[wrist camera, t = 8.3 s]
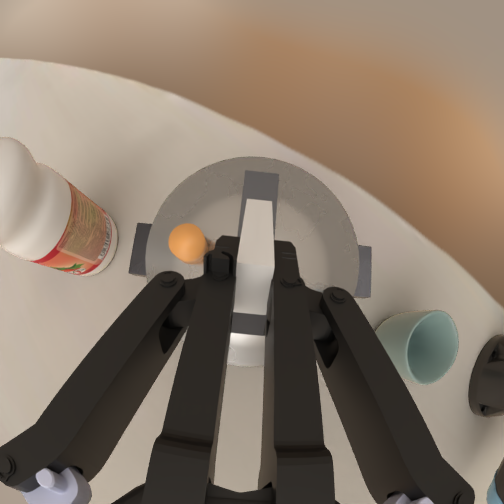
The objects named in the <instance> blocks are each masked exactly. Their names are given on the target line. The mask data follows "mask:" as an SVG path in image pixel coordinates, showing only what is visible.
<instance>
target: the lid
mask: <svg viewBox="0 0 504 504" xmlns="http://www.w3.org/2000/svg"><path fill="white" fill-rule="evenodd" d="M247 199H255V200H265V201H272V212H273V235H274V240H280V241H290V242H291V243H292V244H293V245H294V246H295V247H296V255H297V260H298V267H299V273H300V277H301V278H302V279H303V280H304V282H305V285H306V286H307V287H309V288H310V289H313V290H315V291H318V292H322V293H323V291H324V290H325V289H326V288H328V287H340V288H343V289H345V290H346V291H348V292H349V293H350V294H351V295H352V297H353V296H354V294H355V290H356V286H357V281H358V275H359V250H358V244H357V238H356V235H355V232H354V229H353V225H352V223H351V221H350V219H349V217H348V214H347V213H346V211H345V209H344V208H343V206H342V204H341V203H340V201H339V200H338V199H337V198H336V196H335V195H334V194H333V193H332V192H331V191H330V190H329V189H328V188H327V187H326V186H325V185H324V184H323V183H322V182H321V181H319V180H318V179H317V178H315V177H314V176H313V175H311V174H310V173H308V172H306V171H305V170H303V169H301V168H299V167H297V166H294V165H292V164H290V163H287V162H283V161H280V160H276V159H271V158H265V157H239V158H233V159H228V160H223V161H220V162H217V163H214V164H211V165H209V166H207V167H205V168H203V169H201V170H199V171H197V172H196V173H194V174H193V175H191V176H189V177H188V178H187V179H186V180H184V181H183V182H182V183H181V184H179V185H178V186H177V187H176V188H175V190H174V191H173V192H172V193H171V194H170V195H169V196H168V198H167V199H166V200H165V202H164V203H163V204H162V206H161V208H160V209H159V211H158V213H157V215H156V217H155V219H154V222H153V224H152V227H151V229H150V233H149V237H148V241H147V247H146V256H145V260H146V275H147V282H148V283H149V282H150V281H151V280H152V279H153V277H154V276H156V275H157V274H158V273H161V272H163V271H176V272H178V273H180V274H181V275H182V276H183V277H184V279H193V278H197V277H200V276H202V275H203V274H204V271H203V257H204V255H205V254H206V253H207V252H209V251H211V250H214V247H215V244H216V240H217V239H218V238H219V237H221V236H222V235H226V236H236V237H241V232H242V226H243V220H244V214H245V208H246V202H247ZM266 317H267V312H266V315H258V314H248V313H238V312H233V321H232V329H231V337H230V345H229V352H228V360H227V364H229V365H235V366H241V367H263V366H264V356H265V335H263V333H264V328H265V323H266ZM187 329H188V328H187ZM186 333H187V330H186V332H185V333H184V335H183V337H182V338H181V340H182V341H183V342H184V340H185V337H186Z"/></svg>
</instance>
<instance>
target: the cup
mask: <svg viewBox="0 0 504 504" xmlns="http://www.w3.org/2000/svg"><path fill="white" fill-rule="evenodd" d="M375 334H376V335H377V337H378V339H379V340H380V342H381V344H382V345H383V347H384V349H385V350H386V352H387V354H388V355H389V357H390V359H391V361H392V362H393V364H394V366H395V368H396V369H397V371H398V373H399V375H400V376H401V378H402V379H404V380H407V381H410V382H412V383H415V384H419V385H428V384H432V383H434V382H436V381H438V380H439V379H440V378H442V377H443V376H444V375H445V374H446V373H447V372H448V370H449V369H450V368H451V366H452V365H453V363H454V361H455V358H456V356H457V352H458V343H459V341H458V332H457V328H456V326H455V323H454V321H453V320H452V318H451V317H450V316H449V315H448V314H447V313H446V312H444V311H440V310H421V311H409V312H403V313H400V314H396V315H394V316H391V317H390V318H388V319H386V320H385V321H384V322H382V323H381V324H380V325H379V326H378V328H377V329H376V331H375Z"/></svg>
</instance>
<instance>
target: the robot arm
mask: <svg viewBox="0 0 504 504" xmlns="http://www.w3.org/2000/svg"><path fill="white" fill-rule="evenodd" d="M203 271H204V274H203V275H202V276H200V277H197V278H193V279H184V277H183V276H182V275H181V274H180V273H178V272H176V271H163V272H161V273H158V274H157V275H156V276H154V277H153V279H152V280H151V281H150V282H149V283H148V284H147V285H146V286H145V287H144V289H143V290H142V291H141V292H140V293H139V294H138V295H137V296H136V298H135V299H134V300H133V301H132V302H131V303H130V304H129V305H128V307H127V308H126V309H125V310H124V311H123V312H122V314H121V315H120V316H119V317H118V318H117V319H116V321H115V322H114V323H113V324H112V325H111V326H110V328H109V329H108V330H107V331H106V332H105V334H104V335H103V336H102V337H101V338H100V340H99V341H98V342H97V343H96V344H95V346H94V347H93V348H92V349H91V351H90V352H89V353H88V354H87V356H86V357H85V358H84V359H83V361H82V362H81V363H80V364H79V366H78V367H77V368H76V369H75V371H74V372H73V373H72V375H71V376H70V377H69V378H68V380H67V381H66V382H65V384H64V385H63V386H62V388H61V389H60V390H59V392H58V393H57V394H56V396H55V397H54V398H53V400H52V401H51V402H50V404H49V405H48V407H47V408H46V409H45V411H44V412H43V414H42V415H41V416H40V418H39V419H38V421H37V422H36V424H34V425H33V426H31V427H30V428H29V429H27V430H26V431H24V432H23V433H21V434H20V435H18V436H17V437H15V438H14V439H12V440H11V441H9V442H8V443H6V444H4V445H3V446H1V447H0V481H1V482H3V483H4V484H5V485H7V486H9V487H12V488H14V489H16V490H19V491H20V492H21V493H22V494H23V496H24V497H25V499H26V501H27V502H28V504H88V503H89V501H90V500H91V497H92V493H91V488H90V485H89V484H88V482H89V481H91V480H92V479H93V478H94V477H95V476H96V475H97V473H98V472H99V471H100V470H101V469H102V467H103V466H104V464H105V463H106V461H107V460H108V458H109V457H110V455H111V453H112V451H113V450H114V448H115V446H116V445H117V443H118V441H119V440H120V438H121V436H122V435H123V433H124V431H125V430H126V428H127V426H128V425H129V423H130V421H131V420H132V418H133V416H134V415H135V413H136V411H137V410H138V408H139V406H140V405H141V403H142V402H143V400H144V398H145V397H146V395H147V393H148V392H149V390H150V388H151V387H152V385H153V384H154V382H155V380H156V379H157V377H158V375H159V374H160V372H161V371H162V369H163V367H164V366H165V364H166V362H167V361H168V359H169V358H170V356H171V354H172V353H173V351H174V350H175V348H176V346H177V345H178V343H179V341H180V340H181V338H182V337H183V335H184V333H185V332H186V330H187V333H186V337H185V340H184V344H183V348H182V352H181V355H180V359H179V363H178V367H177V371H176V375H175V379H174V383H173V387H172V391H171V395H170V399H169V403H168V408H167V412H166V416H165V421H164V425H163V429H162V432H161V434H160V435H159V436H158V437H157V438H156V440H155V442H154V445H153V449H152V453H151V458H150V462H149V467H148V472H147V477H146V482H145V483H144V484H142V485H140V486H138V487H136V488H134V489H133V490H131V491H130V492H128V493H127V494H125V495H124V496H122V497H121V498H119V499H118V500H116V501H115V502H113V503H111V504H340V503H339V502H337V501H336V500H335V489H334V472H333V460H332V455H331V453H330V451H329V450H328V449H327V448H326V447H325V445H324V438H323V425H322V414H321V403H320V393H319V384H318V375H317V366H316V360H317V363H318V365H319V368H320V370H321V372H322V375H323V377H324V380H325V382H326V385H327V387H328V390H329V392H330V394H331V397H332V399H333V402H334V404H335V407H336V409H337V412H338V414H339V417H340V419H341V422H342V424H343V427H344V429H345V432H346V435H347V437H348V440H349V442H350V445H351V447H352V450H353V452H354V455H355V458H356V460H357V463H358V465H359V468H360V471H361V473H362V476H363V478H364V481H365V483H366V486H367V488H368V490H369V492H370V494H371V495H372V497H373V498H374V500H375V501H376V503H377V504H474V500H475V494H474V490H473V488H472V487H471V486H470V485H469V484H468V483H467V482H466V481H465V480H464V479H463V478H462V477H461V476H460V475H459V474H458V473H457V472H456V471H455V470H454V469H453V468H452V467H451V466H450V465H449V464H448V463H447V462H446V461H445V460H444V459H443V458H442V456H441V454H440V452H439V450H438V448H437V446H436V444H435V442H434V440H433V437H432V435H431V433H430V431H429V429H428V427H427V425H426V423H425V421H424V419H423V417H422V415H421V414H420V412H419V410H418V408H417V406H416V404H415V402H414V400H413V398H412V396H411V395H410V393H409V391H408V389H407V387H406V385H405V384H404V382H403V380H402V378H401V376H400V375H399V373H398V371H397V369H396V368H395V366H394V364H393V362H392V361H391V359H390V357H389V355H388V354H387V352H386V350H385V349H384V347H383V345H382V344H381V342H380V340H379V339H378V337H377V335H376V334H375V332H374V330H373V329H372V327H371V325H370V324H369V322H368V320H367V319H366V317H365V316H364V314H363V312H362V311H361V309H360V308H359V306H358V305H357V303H356V301H355V300H354V298H353V297H352V295H351V294H350V293H349V292H348V291H346V290H345V289H343V288H340V287H328V288H326V289H325V290H324V291H323V293H322V292H318V291H315V290H313V289H310V288H309V287H307V286H306V285H305V282H304V280H303V279H302V278H301V277H300V273H299V267H298V260H297V255H296V247H295V246H294V245H293V244H292V243H291V242H290V241H280V240H274V235H273V212H272V201H265V200H255V199H247V202H246V208H245V214H244V220H243V226H242V232H241V237H236V236H226V235H222V236H221V237H219V238H218V239H217V240H216V244H215V247H214V250H211V251H209V252H207V253H206V254H205V255H204V257H203ZM233 312H238V313H248V314H258V315H266V312H267V317H266V323H265V328H264V333H263V335H265V356H264V392H263V422H262V448H261V466H260V472H259V479H258V490H255V491H249V492H243V493H239V492H235V491H231V490H228V489H225V488H222V487H219V486H216V485H213V484H214V475H215V461H216V452H217V443H218V434H219V426H220V417H221V409H222V401H223V393H224V384H225V376H226V368H227V360H228V352H229V345H230V337H231V329H232V321H233ZM187 328H188V329H187ZM469 403H470V407H471V410H472V411H473V412H474V413H475V414H477V415H480V416H483V417H493V416H500V415H504V335H497V336H495V337H493V338H492V339H491V340H490V341H489V342H488V343H487V344H486V345H485V347H484V348H483V350H482V351H481V353H480V355H479V357H478V359H477V362H476V364H475V367H474V370H473V373H472V377H471V381H470V387H469ZM487 503H488V504H504V458H503V460H502V462H501V464H500V466H499V468H498V469H497V471H496V473H495V475H494V479H493V481H492V483H491V485H490V486H489V489H488V491H487Z"/></svg>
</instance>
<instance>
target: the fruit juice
mask: <svg viewBox="0 0 504 504" xmlns="http://www.w3.org/2000/svg"><path fill="white" fill-rule="evenodd" d="M117 241H118V235H117V229H116V226H115V224H114V221H113V220H112V218H111V217H110V216H109V215H108V214H107V213H106V212H105V211H104V210H103V209H101V208H100V207H99V206H98V205H96V204H95V203H94V202H93V201H91V200H90V199H89V198H88V197H86V196H85V195H84V194H83V193H81V192H80V191H79V190H78V189H77V188H75V187H74V186H73V185H72V184H71V183H69V182H68V181H67V180H66V179H65V178H64V177H63V176H62V175H60V174H59V173H58V172H56V171H55V170H54V169H52V168H50V167H49V166H47V165H45V164H42V163H36V162H35V160H34V158H33V156H32V154H31V153H30V151H29V150H28V148H27V147H26V146H25V145H23V144H22V143H21V142H20V141H18V140H16V139H14V138H11V137H0V245H1V247H2V248H3V249H4V250H6V251H7V252H8V253H10V254H12V255H14V256H16V257H19V258H21V259H24V260H28V261H31V262H34V263H38V264H41V265H44V266H48V267H51V268H54V269H58V270H61V271H65V272H68V273H72V274H75V275H79V276H91V275H95V274H97V273H99V272H101V271H102V270H103V269H105V268H106V267H107V266H108V264H109V263H110V262H111V260H112V258H113V256H114V254H115V251H116V248H117Z"/></svg>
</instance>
